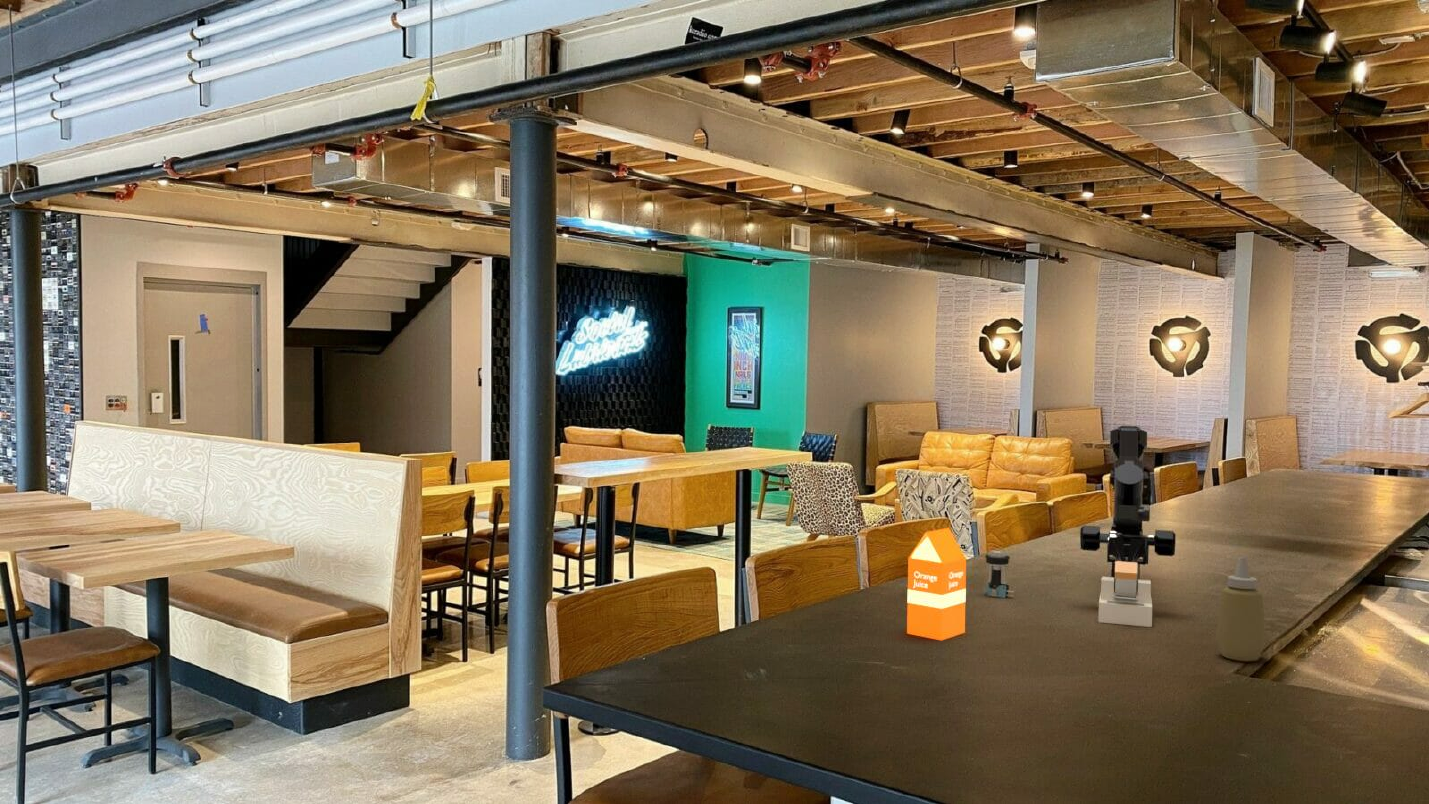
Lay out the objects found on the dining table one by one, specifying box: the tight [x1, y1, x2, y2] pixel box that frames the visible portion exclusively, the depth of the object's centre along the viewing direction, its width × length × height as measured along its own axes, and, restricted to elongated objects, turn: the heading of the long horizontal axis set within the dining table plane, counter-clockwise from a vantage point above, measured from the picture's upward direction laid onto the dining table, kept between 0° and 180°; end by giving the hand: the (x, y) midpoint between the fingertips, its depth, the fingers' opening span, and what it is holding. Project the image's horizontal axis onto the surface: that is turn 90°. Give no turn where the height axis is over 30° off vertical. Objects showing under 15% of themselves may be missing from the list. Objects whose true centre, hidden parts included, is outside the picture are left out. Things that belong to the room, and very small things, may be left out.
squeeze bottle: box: [1215, 556, 1267, 662], centre depth 187 cm, size 8×8×18 cm
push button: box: [984, 550, 1015, 599], centre depth 238 cm, size 7×5×10 cm
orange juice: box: [906, 527, 967, 641], centre depth 203 cm, size 8×9×20 cm
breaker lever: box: [1114, 561, 1138, 598], centre depth 215 cm, size 3×4×9 cm
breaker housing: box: [1098, 576, 1153, 628], centre depth 217 cm, size 11×10×8 cm
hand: (1126, 573), depth 218 cm, fingers closed
